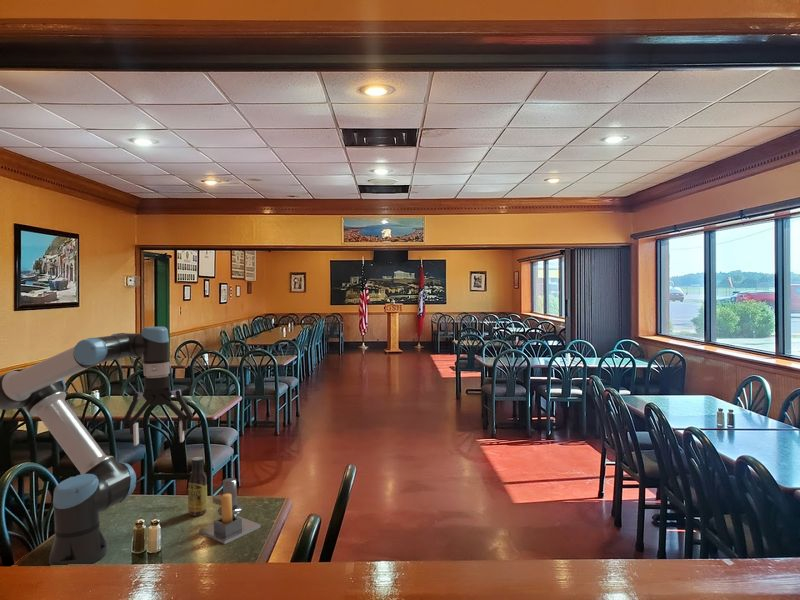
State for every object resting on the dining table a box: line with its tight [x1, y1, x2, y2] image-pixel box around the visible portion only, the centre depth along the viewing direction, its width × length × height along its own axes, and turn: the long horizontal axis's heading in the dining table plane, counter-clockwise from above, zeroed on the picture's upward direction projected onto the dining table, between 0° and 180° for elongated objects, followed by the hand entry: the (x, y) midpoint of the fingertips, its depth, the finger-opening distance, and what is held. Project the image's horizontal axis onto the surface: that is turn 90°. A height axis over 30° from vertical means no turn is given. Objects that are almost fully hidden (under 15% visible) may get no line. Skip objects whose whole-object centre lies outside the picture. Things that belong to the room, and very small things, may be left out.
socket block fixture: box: [198, 477, 262, 545], centre depth 182 cm, size 19×14×15 cm
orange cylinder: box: [221, 493, 233, 524], centre depth 177 cm, size 3×3×12 cm
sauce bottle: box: [187, 456, 208, 517], centre depth 194 cm, size 7×6×20 cm
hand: (159, 442), depth 173 cm, fingers open, 13 cm apart
